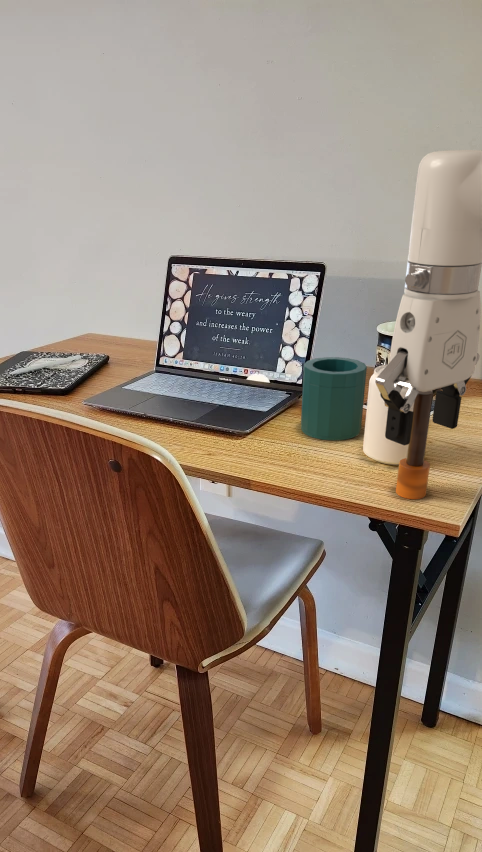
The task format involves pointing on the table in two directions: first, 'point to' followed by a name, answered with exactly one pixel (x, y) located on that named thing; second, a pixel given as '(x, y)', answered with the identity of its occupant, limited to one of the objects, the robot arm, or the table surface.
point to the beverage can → (380, 427)
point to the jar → (333, 398)
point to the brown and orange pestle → (416, 452)
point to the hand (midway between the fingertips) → (421, 432)
